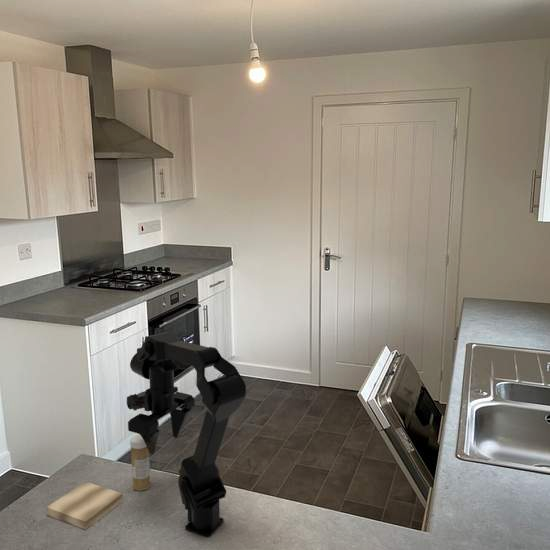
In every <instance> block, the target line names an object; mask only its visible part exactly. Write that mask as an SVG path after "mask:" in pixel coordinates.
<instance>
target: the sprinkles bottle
mask: <svg viewBox="0 0 550 550" xmlns="http://www.w3.org/2000/svg"><path fill="white" fill-rule="evenodd" d="M129 444H130V445H129V446H130V450H131V475H132V488H133V490H135V491H146V490H147V489H149V488H150V487H151V476H150V475H151V466H150V463H151V462H150V453H149V451H148V449H147V446H146V444H145V442H144V440H143V438H142V437H141V435H140V434H138V433H136V434H135V435H134V434H133V436H131V437H130V439H129Z"/></svg>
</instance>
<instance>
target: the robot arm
mask: <svg viewBox="0 0 550 550" xmlns="http://www.w3.org/2000/svg"><path fill="white" fill-rule="evenodd" d="M174 361H175V362H178V363H182V364H184V365H188V366H192V367H193V369H194V370H195V371H196V380H195V381H196V383H195V384H196V388H197V390H198V391H199V393H200V395H201V402H202V404H203V406H204V408H205V411H206V412H205V414H204V419H203V421H202V422H203V423H202V426H201V430H200V432H199V435H198V436H199V437H198V439H197V443H196V446H195V449H194V454H193V455H191V456H188V457H186V458H184V459H183V460H182V461H181V462H180V468H179V470H178V474H179V476H178V488H179V494H180V499H181V502H182V504H183V505H184V510H187V512H186V513H187V522H188V523H186V525H185V526H184V528H185V530H187V531H190V532H192V533H195V534H199V535H202V536H204V537H207V538H208V537H210V536H211V535H212V534H214V533H215V532H216V530H217V529H218V528H219V527H220V526H221V525H222V524H224V523H223V522H224V518H223V517H220V516H221V515H220V514H221V513H220V509H221V508H220V500H221V499H224V498H226V495H227V489H226V487H225V485H224V482H223V480H222V478H221V477H220V475H219V474H220V470H219V468H218V466H217V464H216V460H217V457H218V454H219V451H220V448H221V445H222V441H223V439H224V436H225V431H226V428H227V427H228V423H229V419H230V417H231V416H232V414H234V413H235V412H236V411H237V410H238V409H239V408H240V407H241V405H242V403H243V402H244V400H245V398H246V394H247V387H246V386H247V385H246V382H245V381H244V378H243V377H242V375H241V374H240V372H239V371H238V369H237V368H236V366H235V365H234V364H232V363H231V362H229V361H228V360H226V358H224V357H223V356H222V355H221V353H220V352H219V350H218V349H217V348H216V347H213V346H209V347H208V346H205V345H200V344H195V343H191V342H187V341H184V340H181V339H180V338H179V335H177V334H176V333H174V332H172V331H165V332H161V333H156V334H153V335H147V336H145V338H144V342H143V343H142V345H141V347H138V348H136V353H135V354H134V355H133V356H132V357H131V360H130V362H129V367H130V368H129V369H131V371H132V372H134V373H135V374H137V375H138V376H140V377H142V378H144V379H146V380H148V381H149V388H147V389H145V391H141V392H138V394H137V393H134V394H130V395H128V396H126V406H127V408H128V409H129V410H133V411H137V410H141V409H144V412H151V414H149V415H148V414H145V413H139V414H137V415H135V416H133V417H132V418H130V419H129V420H128V422H127V430H128V432H132V433H135V434H140V435H141V437H142V438H143V440H144V442H145V444H146V446H147V449H148V451H149V455H150V454H151V455H154V454H155V453H156V449H157V443H158V439H159V435H160V429H158V428H159V426H160V424H159V423H160V422H159V421H160V420H162V419H163V418H164V417H166V416H168V415H170V419H171V431H172V436H173V438H178V437H179V434H180V433H181V431H182V428H183V427H184V425H185V422H186V420H187V418H188V416H189V414H190V413H191V412H192V408H193V407H195V398H194V397H193V395H192V394H188V393H184V392H180V391H179V388H178V386H175V378H174V377H175V376H174V375H175V373H174V371H176V370H178V369H179V368H178V366H177V364H176V363H175V362H174ZM209 367H214V369H216V370H217V371H218V372H219V373H221V374H223V375H224V376H223V377H218V378H215V379H211V380H210V381H208V379H207V377H206V375H205V374H206V373H205V372H206V368H209Z"/></svg>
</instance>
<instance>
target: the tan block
mask: <svg viewBox="0 0 550 550" xmlns="http://www.w3.org/2000/svg"><path fill="white" fill-rule="evenodd" d="M123 496H124V495H123V493H122V492H118V491H116V490H112V489H109V488H106V487H103V486H100V485H97V484H94V483H90V482H89V481H84V482H83V483H81V484H80V485H78V486H76V487H75V488H74V489H72V490H70V491H69V492H67V493H66V494H64V495H63V496H62V497H60V498H59V499H57V500H55V501H54V502H53V503H51V504H50V505H48V506H47V507H46V513H47V516H49V517H51V518H54V519H56V520H60V521H62V522H65V523H68V524H70V525H72V526H76V527H78V528H80V529H83V530H87V529H89V528H90V527H91V526H93V525H94V524H95V523H96V522H98V521H99V520H100V519H102V518H103V517H104V516H105V515H107V514H108V513H109V512H111V511H112V510H113V509H115V508H116V507H117V506H119V505H120V504H121V503H123V499H124V497H123Z"/></svg>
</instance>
